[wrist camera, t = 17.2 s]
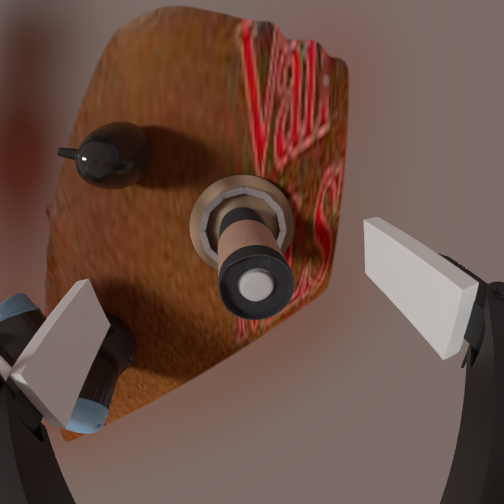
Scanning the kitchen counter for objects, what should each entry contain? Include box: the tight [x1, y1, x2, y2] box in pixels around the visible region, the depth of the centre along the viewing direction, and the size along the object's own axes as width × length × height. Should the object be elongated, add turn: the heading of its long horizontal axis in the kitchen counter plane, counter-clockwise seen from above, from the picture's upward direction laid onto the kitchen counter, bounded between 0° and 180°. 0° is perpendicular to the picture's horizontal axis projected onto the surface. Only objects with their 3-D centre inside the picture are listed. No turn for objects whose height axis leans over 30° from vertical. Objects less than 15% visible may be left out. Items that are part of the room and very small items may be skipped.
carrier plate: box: [190, 174, 294, 270], centre depth 46 cm, size 17×17×3 cm
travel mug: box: [218, 207, 294, 320], centre depth 37 cm, size 8×8×20 cm
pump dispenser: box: [57, 121, 152, 190], centre depth 34 cm, size 10×10×15 cm
